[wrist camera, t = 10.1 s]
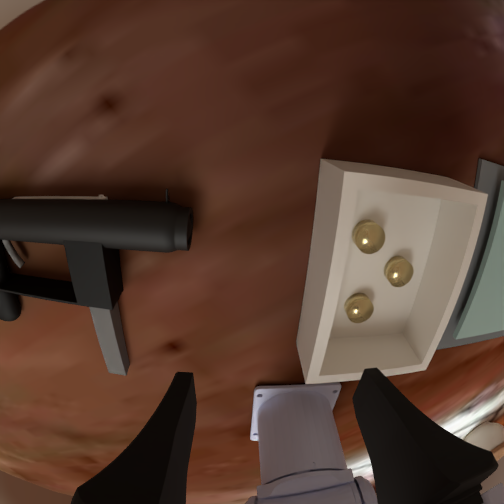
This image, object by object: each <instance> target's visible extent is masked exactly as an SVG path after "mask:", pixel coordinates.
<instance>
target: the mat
mask: <svg viewBox="0 0 504 504" xmlns="http://www.w3.org/2000/svg"><path fill="white" fill-rule="evenodd" d="M502 180H503V181H504V166H501V165H498V164H495V163H492V162H489V161H486V160H483V159H479V161H478V168H477V174H476V180H475V186H474V188H475V189H477V190H480V191H482V192H484V193H486V194H488V197H487V202H486V207H485V211H484V215H483V220H482V224H481V228H480V231H479V235H478V239H477V242H476V246H475V249H474V253H473V256H472V259H471V262H470V266H469V269H468V272H467V275H466V278H465V280H464V283H463V286H462V289H461V292H460V294H459V297H458V300H457V302H456V305H455V307H454V310H453V312H452V315H451V317H450V319H449V322H448V324H447V326H446V329H445V331H444V333H443V335H442V338H441V340H440V342H439V344H438V346H437V348H436V350H438V349H443V348H449V347H455V346H460V345H465V344H470V343H475V342H479V341H484V340H489V339H493V338H497V337H501V336H504V330H502V331H497V332H493V333H488V334H483V335H478V336H473V337H467V338H462V339H455V338H454V337H453V334H454V331H455V329H456V327H457V325H458V322H459V320H460V318H461V315H462V313H463V311H464V308H465V306H466V303H467V301H468V298H469V296H470V293H471V291H472V288H473V285H474V282H475V280H476V277H477V274H478V271H479V268H480V265H481V262H482V259H483V256H484V252H485V249H486V246H487V242H488V239H489V235H490V231H491V227H492V224H493V219H494V215H495V211H496V207H497V202H498V197H499V192H500V187H501V181H502Z"/></svg>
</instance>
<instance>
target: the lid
mask: <svg viewBox="0 0 504 504" xmlns="http://www.w3.org/2000/svg"><path fill="white" fill-rule="evenodd" d="M502 330H504V181H503V180H502V181H501V187H500V192H499V197H498V202H497V207H496V211H495V215H494V219H493V224H492V227H491V231H490V235H489V239H488V242H487V246H486V249H485V252H484V256H483V259H482V262H481V265H480V268H479V271H478V274H477V277H476V280H475V282H474V285H473V288H472V291H471V293H470V296H469V298H468V301H467V303H466V306H465V308H464V311H463V313H462V315H461V318H460V320H459V322H458V325H457V327H456V329H455V331H454V334H453V337H454V338H455V339H462V338H467V337H473V336H478V335H483V334H488V333H493V332H497V331H502Z"/></svg>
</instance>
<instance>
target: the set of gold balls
mask: <svg viewBox="0 0 504 504" xmlns="http://www.w3.org/2000/svg"><path fill="white" fill-rule="evenodd" d="M352 240H353V242H354V244H355V245H356V246H357V247H358V248H359V250H360V251H361V252H363V253H365V254H373V253H376V252H377V251H379V250H380V249H381V248H382V246H383V245H384V242H385V232H384V230H383V229H382V228H381V227H380V226H379V225H378V224H377V223H376V222H374V221H373V220H370V219H365V220H362V221H360V222H359V223H357V224H356V225H355V227H354V229H353V231H352ZM413 272H414V270H413V266H412V265H411V264H410V263H409V262H408V261H407V260H406V259H405V258H404V257H403V256H394V257H392V258H391V259H389V260H388V261H387V263H386V264H385V267H384V276H385V277H386V279H387V280H388V281H389V282H390V283H391V285H392V286H394V287H402V286H404V285H406V284H407V283H408V282H409V281H410V280H411V278H412V276H413ZM344 310H345V312H346V314H347V316H348V318H349V320H350V321H351V322H353V323H362V322H364V321H366V320H368V319H369V318H370V317H371V315H372V314H373V311H374V306H373V304H372V302H371V301H370V299H369V298H368V296H367V295H366V294H364V293H355V294H353V295H351V296H350V297H348V299H347V300H346V301H345V304H344Z"/></svg>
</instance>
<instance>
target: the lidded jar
mask: <svg viewBox="0 0 504 504" xmlns="http://www.w3.org/2000/svg"><path fill="white" fill-rule="evenodd" d="M464 441H466V442H468V443H470V444H472V445H475V446H477V447H480V448H483V449H486V450H488V451H491V452H492V453H493V455H494V457H495V459H496V461H498V460H499V459H500V458H501V457H503V455H504V426H502V425H501V424H498V423H490V422H489V421H487V422H485V423H483V424H481V425H479V426H478V427H476V428H475V429H474V430H472V431H471V432H470V433H469V434H468V435H467V436H466V437H465V439H464Z"/></svg>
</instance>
